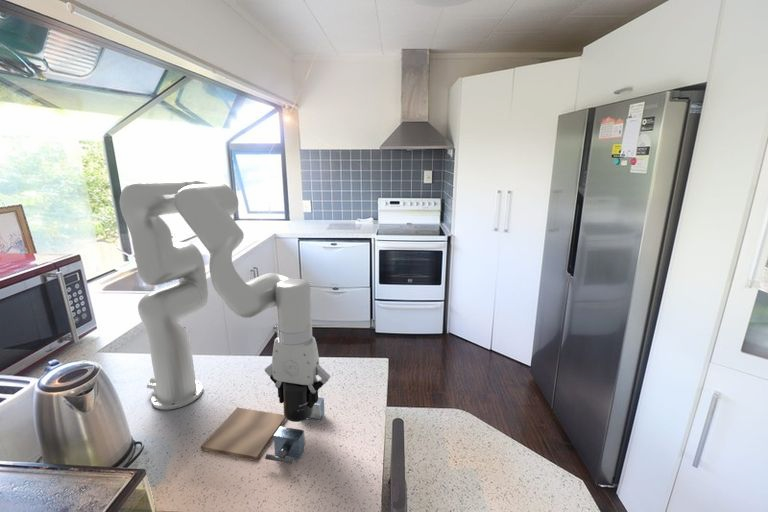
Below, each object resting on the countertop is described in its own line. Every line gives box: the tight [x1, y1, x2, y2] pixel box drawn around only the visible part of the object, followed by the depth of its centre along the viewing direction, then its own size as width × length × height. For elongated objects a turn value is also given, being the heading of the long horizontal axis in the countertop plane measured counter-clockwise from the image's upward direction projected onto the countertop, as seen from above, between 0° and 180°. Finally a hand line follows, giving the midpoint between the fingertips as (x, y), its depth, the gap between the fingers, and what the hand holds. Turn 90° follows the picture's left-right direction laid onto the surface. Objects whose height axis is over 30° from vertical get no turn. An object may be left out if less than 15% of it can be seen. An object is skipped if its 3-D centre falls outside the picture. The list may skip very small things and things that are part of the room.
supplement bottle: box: [282, 382, 313, 423], centre depth 85 cm, size 7×7×12 cm
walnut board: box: [200, 407, 287, 462], centre depth 88 cm, size 14×14×1 cm
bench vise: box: [264, 396, 325, 465], centre depth 86 cm, size 6×19×5 cm, turn 168°
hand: (298, 401), depth 86 cm, fingers closed on supplement bottle, 6 cm apart
